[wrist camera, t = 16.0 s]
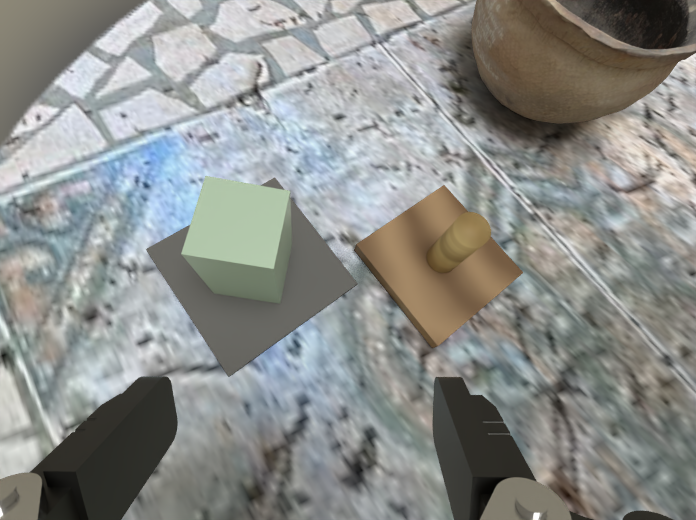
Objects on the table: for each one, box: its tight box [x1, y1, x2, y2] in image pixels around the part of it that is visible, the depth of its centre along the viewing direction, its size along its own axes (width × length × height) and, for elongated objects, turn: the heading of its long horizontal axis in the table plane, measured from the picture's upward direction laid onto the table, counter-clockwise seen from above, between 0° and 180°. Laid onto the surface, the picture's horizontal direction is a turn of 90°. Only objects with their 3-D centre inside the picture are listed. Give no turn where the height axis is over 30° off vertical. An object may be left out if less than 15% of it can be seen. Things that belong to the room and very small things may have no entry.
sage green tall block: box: [181, 176, 292, 304], centre depth 30 cm, size 6×6×10 cm
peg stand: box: [354, 185, 523, 348], centre depth 33 cm, size 12×12×8 cm
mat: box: [146, 178, 358, 376], centre depth 35 cm, size 14×14×1 cm
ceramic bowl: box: [471, 0, 696, 124], centre depth 41 cm, size 22×22×15 cm
